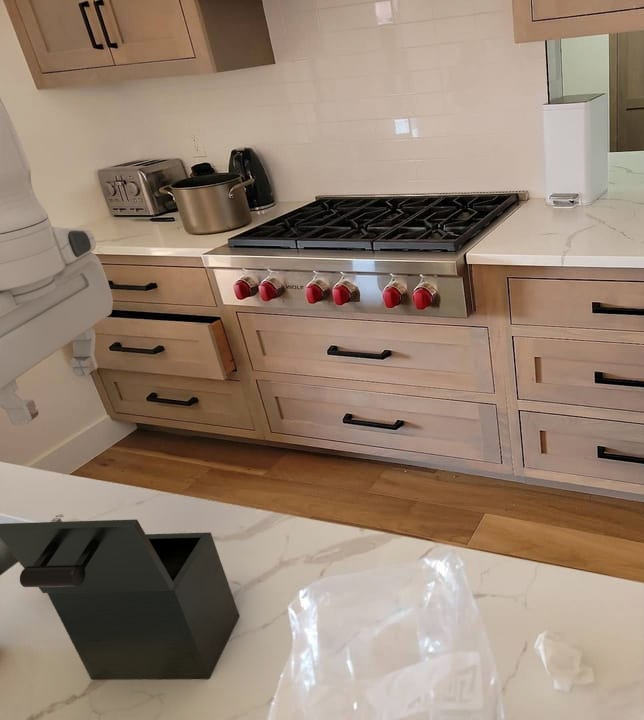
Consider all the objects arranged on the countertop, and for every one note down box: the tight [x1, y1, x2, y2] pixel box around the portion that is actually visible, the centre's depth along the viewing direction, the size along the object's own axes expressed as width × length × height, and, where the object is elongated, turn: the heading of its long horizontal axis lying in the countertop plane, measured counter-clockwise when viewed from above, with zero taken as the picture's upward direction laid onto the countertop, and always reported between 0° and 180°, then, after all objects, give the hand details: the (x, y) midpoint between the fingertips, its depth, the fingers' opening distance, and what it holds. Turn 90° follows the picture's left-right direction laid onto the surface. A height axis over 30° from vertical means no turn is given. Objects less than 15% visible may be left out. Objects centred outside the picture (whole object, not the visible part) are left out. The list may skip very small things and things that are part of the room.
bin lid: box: [0, 518, 174, 594], centre depth 63 cm, size 10×14×5 cm
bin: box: [46, 531, 240, 680], centre depth 75 cm, size 9×14×13 cm, turn 86°
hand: (58, 395), depth 66 cm, fingers open, 8 cm apart
